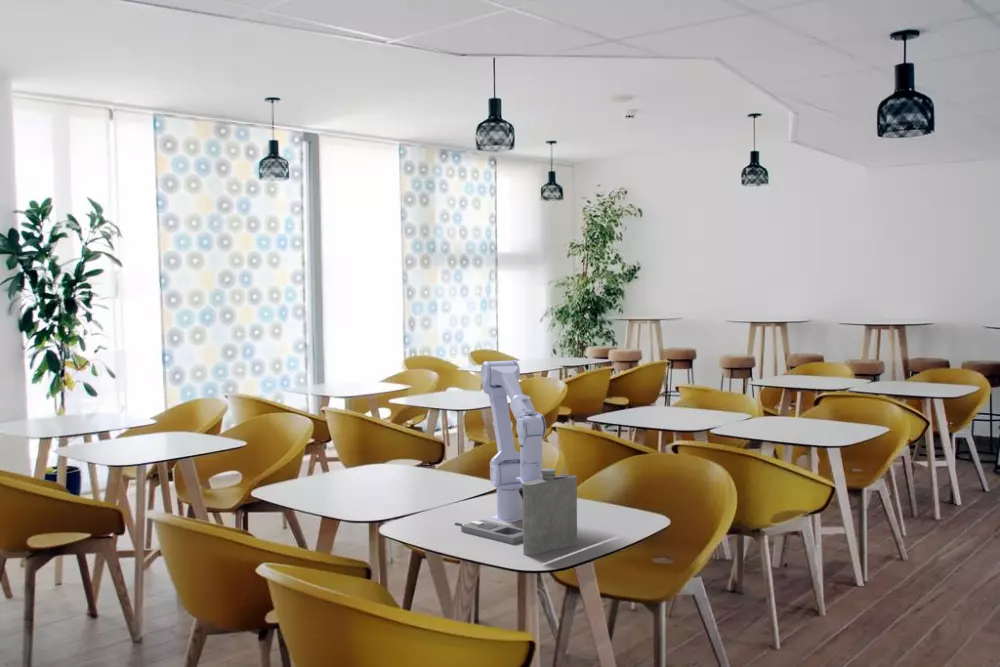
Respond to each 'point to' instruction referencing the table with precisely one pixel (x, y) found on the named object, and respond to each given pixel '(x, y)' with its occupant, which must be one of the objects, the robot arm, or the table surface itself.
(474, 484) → the table surface
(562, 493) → the hip flask
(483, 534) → the power strip
